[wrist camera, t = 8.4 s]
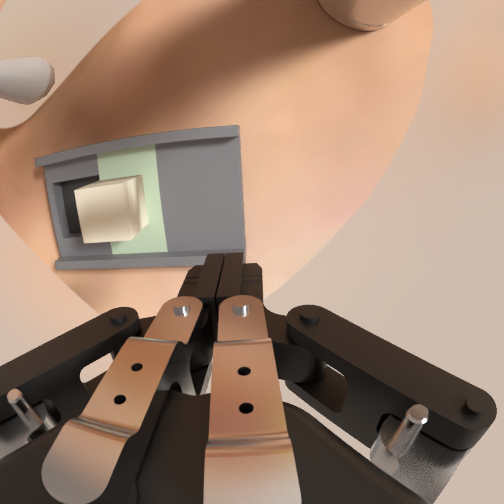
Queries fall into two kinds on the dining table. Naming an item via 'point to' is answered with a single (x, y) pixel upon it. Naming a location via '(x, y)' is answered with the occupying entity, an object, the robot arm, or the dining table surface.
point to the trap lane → (155, 197)
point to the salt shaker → (25, 79)
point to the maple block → (112, 209)
